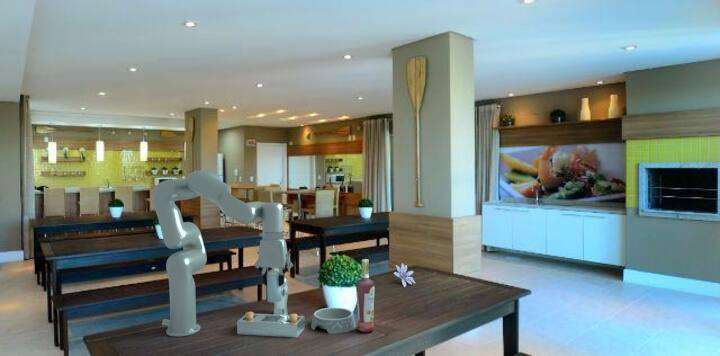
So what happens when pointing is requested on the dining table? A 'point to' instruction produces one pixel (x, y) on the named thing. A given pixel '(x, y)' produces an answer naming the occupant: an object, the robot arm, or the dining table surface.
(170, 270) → the robot arm
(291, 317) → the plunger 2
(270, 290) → the cylinder
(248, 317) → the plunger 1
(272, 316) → the housing
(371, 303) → the liquor
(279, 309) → the beer glass
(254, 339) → the dining table surface
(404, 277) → the water lily
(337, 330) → the dog bowl
